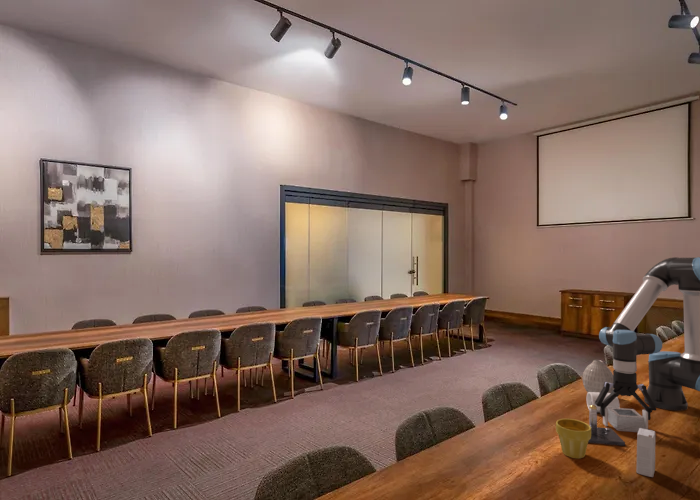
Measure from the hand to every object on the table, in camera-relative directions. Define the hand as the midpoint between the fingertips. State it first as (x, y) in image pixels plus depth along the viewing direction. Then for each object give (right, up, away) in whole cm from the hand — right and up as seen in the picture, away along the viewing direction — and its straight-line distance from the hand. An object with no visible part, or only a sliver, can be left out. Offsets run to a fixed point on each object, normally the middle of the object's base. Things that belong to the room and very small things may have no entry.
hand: (625, 426), depth 160 cm
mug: (+1, -1, +17) cm, 17 cm away
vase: (+10, -1, +34) cm, 35 cm away
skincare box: (-15, 0, -33) cm, 37 cm away
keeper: (-17, 0, -8) cm, 19 cm away
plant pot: (-31, 0, -22) cm, 38 cm away
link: (0, 0, 0) cm, 0 cm away
